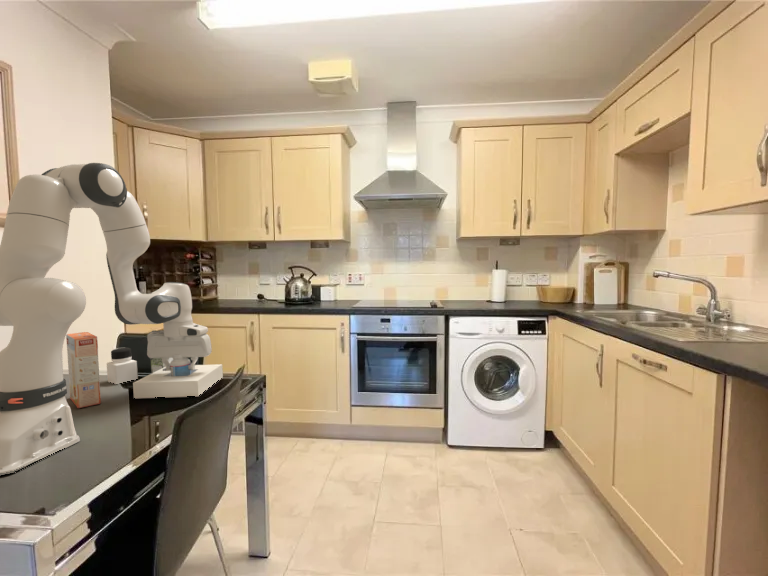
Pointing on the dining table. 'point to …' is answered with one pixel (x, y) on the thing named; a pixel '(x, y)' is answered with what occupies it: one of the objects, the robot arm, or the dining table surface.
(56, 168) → the robot arm
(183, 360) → the pill bottle
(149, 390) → the socket block
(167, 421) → the dining table surface
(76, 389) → the cracker box
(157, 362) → the syrup box
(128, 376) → the medicine bottle
